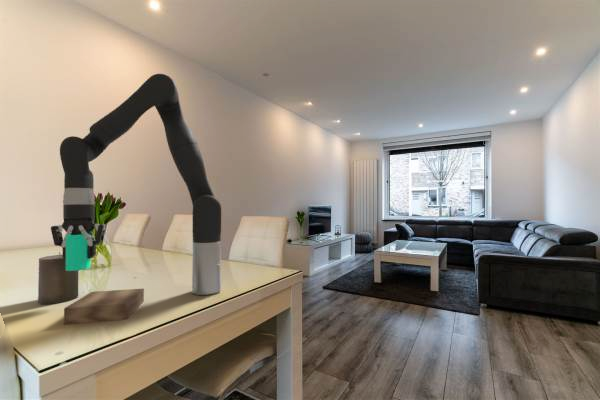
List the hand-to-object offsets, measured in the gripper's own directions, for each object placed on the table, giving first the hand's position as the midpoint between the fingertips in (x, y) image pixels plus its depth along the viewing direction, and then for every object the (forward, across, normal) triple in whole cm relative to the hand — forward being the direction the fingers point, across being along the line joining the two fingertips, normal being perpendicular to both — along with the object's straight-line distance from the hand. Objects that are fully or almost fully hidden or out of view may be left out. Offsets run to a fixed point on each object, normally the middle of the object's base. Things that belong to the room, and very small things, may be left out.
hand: (79, 258), depth 84 cm
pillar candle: (+14, +8, -6) cm, 17 cm away
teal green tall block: (+3, 0, 0) cm, 3 cm away
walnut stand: (+14, -12, +10) cm, 21 cm away
